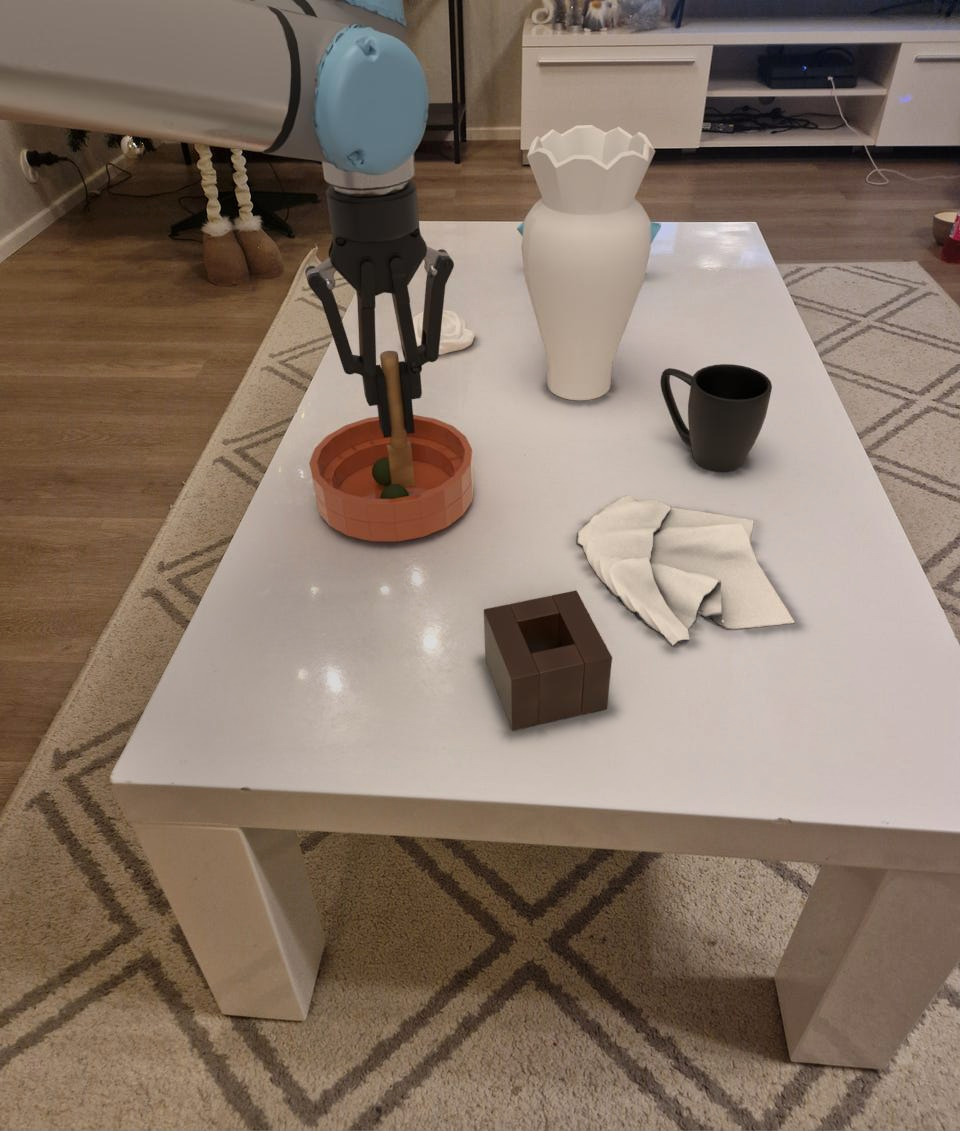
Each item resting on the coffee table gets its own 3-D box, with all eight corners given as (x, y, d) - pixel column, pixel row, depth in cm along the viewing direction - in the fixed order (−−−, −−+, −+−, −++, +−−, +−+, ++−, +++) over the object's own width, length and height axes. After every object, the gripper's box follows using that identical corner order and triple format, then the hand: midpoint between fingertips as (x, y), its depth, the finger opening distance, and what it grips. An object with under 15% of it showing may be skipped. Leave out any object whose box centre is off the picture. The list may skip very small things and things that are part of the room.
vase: (657, 377, 111) (685, 132, 92) (600, 427, 102) (618, 166, 83) (560, 349, 118) (568, 116, 99) (498, 393, 109) (494, 146, 90)
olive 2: (384, 521, 88) (381, 497, 86) (379, 504, 90) (376, 481, 88) (413, 516, 88) (410, 492, 86) (407, 499, 90) (405, 476, 88)
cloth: (607, 487, 92) (608, 468, 91) (818, 537, 85) (823, 517, 83) (534, 605, 79) (534, 586, 77) (778, 678, 71) (784, 658, 69)
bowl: (328, 561, 84) (320, 516, 81) (310, 470, 97) (302, 428, 93) (491, 530, 87) (490, 486, 84) (453, 446, 100) (450, 404, 96)
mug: (675, 421, 102) (685, 347, 96) (769, 454, 96) (786, 378, 90) (638, 450, 98) (645, 374, 92) (734, 488, 92) (749, 409, 86)
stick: (393, 491, 90) (377, 360, 80) (390, 482, 91) (374, 352, 81) (415, 487, 90) (403, 356, 81) (412, 478, 91) (399, 348, 82)
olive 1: (376, 493, 92) (372, 469, 90) (371, 477, 94) (368, 454, 92) (403, 488, 92) (401, 464, 90) (398, 473, 94) (395, 450, 92)
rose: (420, 292, 123) (484, 300, 120) (423, 322, 126) (485, 330, 123) (391, 321, 116) (458, 330, 113) (394, 352, 118) (459, 361, 116)
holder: (511, 731, 68) (511, 679, 64) (485, 660, 74) (483, 608, 70) (607, 709, 69) (612, 657, 65) (573, 641, 75) (576, 590, 71)
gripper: (446, 160, 75) (459, 399, 90) (277, 178, 72) (319, 421, 88) (467, 185, 69) (477, 435, 85) (284, 205, 67) (328, 460, 82)
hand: (396, 428), depth 86 cm, fingers closed on stick, 2 cm apart
